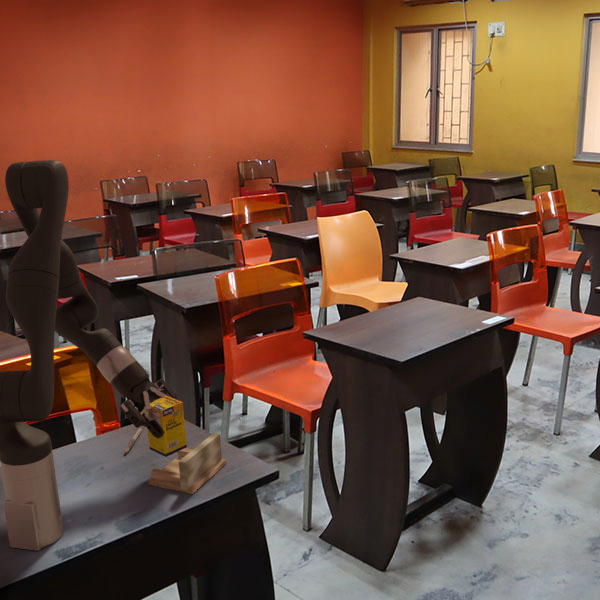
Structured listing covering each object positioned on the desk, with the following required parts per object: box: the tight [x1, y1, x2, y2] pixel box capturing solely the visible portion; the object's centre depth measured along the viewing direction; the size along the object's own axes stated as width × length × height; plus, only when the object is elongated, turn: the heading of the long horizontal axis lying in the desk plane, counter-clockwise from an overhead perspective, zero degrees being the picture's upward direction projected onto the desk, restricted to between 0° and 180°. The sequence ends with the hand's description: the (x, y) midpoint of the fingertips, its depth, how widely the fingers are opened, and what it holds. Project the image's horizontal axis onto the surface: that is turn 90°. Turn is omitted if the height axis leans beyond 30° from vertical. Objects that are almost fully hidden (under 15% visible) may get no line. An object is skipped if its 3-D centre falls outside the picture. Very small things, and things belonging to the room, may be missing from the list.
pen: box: [124, 426, 144, 454], centre depth 181 cm, size 1×14×1 cm, turn 175°
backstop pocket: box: [147, 432, 227, 495], centre depth 164 cm, size 14×11×7 cm
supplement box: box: [147, 395, 188, 458], centre depth 164 cm, size 6×6×11 cm
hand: (172, 428), depth 164 cm, fingers closed on supplement box, 7 cm apart
